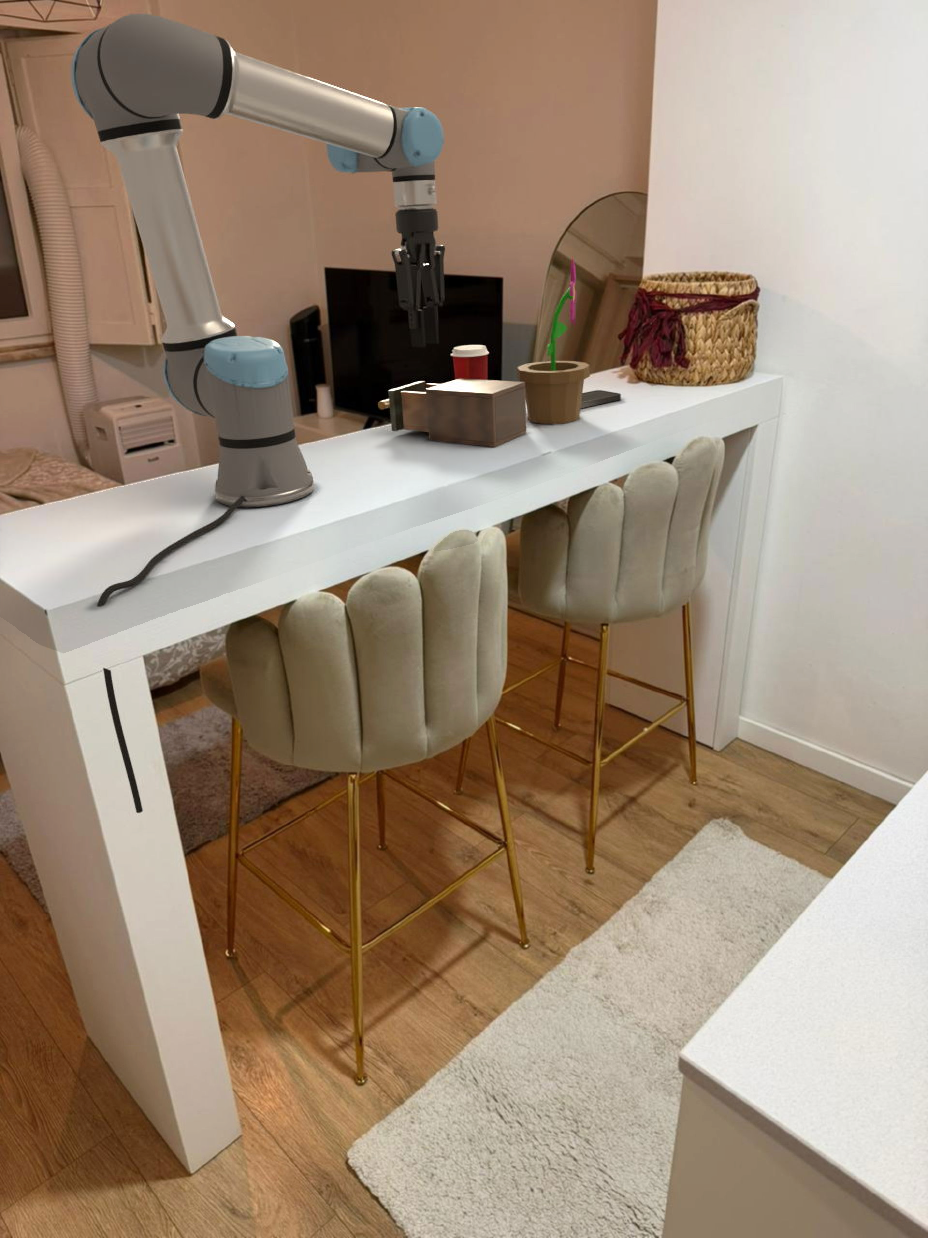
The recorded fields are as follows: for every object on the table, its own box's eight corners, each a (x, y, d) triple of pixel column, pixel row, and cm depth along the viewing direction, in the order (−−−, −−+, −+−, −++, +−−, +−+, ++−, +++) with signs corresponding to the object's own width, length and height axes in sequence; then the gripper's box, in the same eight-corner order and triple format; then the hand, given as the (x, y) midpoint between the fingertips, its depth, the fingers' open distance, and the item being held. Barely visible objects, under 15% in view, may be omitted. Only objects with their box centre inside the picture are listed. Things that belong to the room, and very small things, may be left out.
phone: (623, 393, 192) (571, 404, 184) (623, 399, 193) (571, 410, 185) (598, 389, 198) (546, 399, 190) (597, 394, 198) (546, 405, 191)
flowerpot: (587, 425, 172) (588, 259, 159) (514, 426, 174) (509, 262, 162) (591, 410, 184) (592, 254, 172) (522, 411, 187) (519, 258, 174)
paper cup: (492, 411, 188) (490, 343, 182) (490, 419, 181) (487, 348, 176) (456, 413, 189) (452, 345, 183) (452, 420, 182) (447, 350, 176)
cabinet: (429, 440, 168) (425, 388, 164) (463, 427, 176) (460, 377, 172) (494, 447, 160) (492, 393, 156) (526, 433, 169) (525, 381, 165)
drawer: (374, 429, 175) (370, 389, 172) (406, 418, 183) (403, 379, 180) (448, 436, 166) (445, 394, 163) (478, 424, 173) (476, 384, 170)
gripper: (404, 208, 149) (414, 352, 159) (459, 205, 162) (466, 339, 171) (369, 210, 153) (382, 350, 163) (426, 207, 166) (434, 338, 175)
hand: (425, 344), depth 167 cm, fingers open, 4 cm apart
